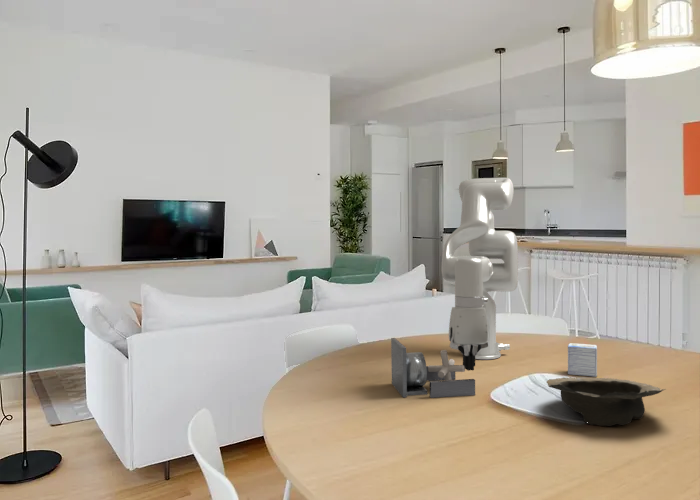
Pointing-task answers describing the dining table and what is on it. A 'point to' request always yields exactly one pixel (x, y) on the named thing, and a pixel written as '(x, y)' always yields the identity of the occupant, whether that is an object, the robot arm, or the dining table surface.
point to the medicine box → (582, 359)
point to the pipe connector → (446, 367)
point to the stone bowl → (604, 398)
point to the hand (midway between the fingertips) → (468, 369)
